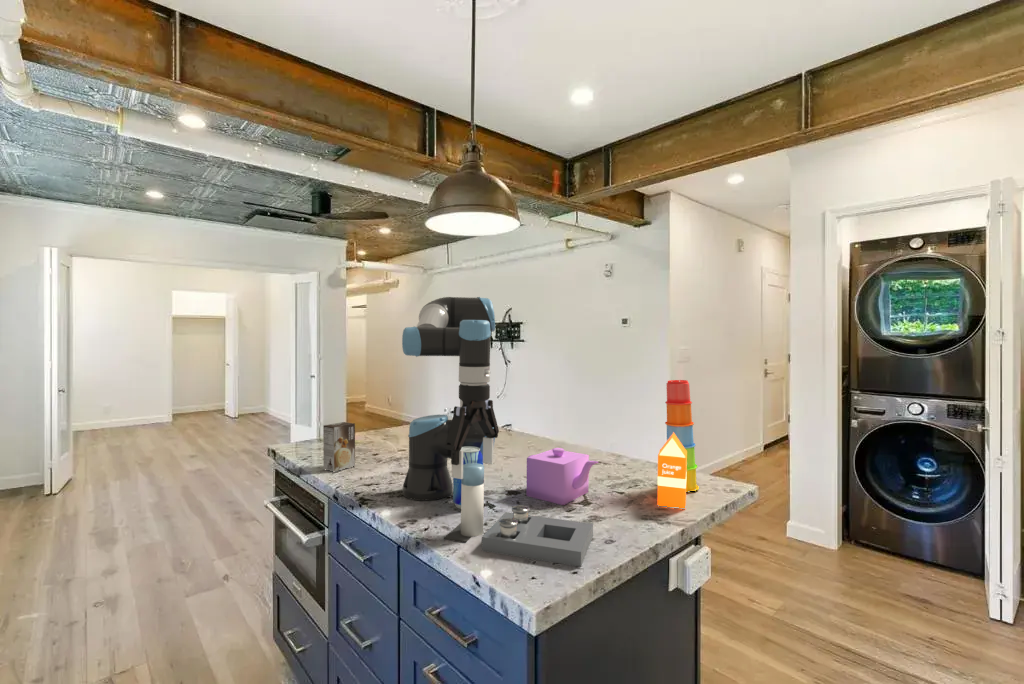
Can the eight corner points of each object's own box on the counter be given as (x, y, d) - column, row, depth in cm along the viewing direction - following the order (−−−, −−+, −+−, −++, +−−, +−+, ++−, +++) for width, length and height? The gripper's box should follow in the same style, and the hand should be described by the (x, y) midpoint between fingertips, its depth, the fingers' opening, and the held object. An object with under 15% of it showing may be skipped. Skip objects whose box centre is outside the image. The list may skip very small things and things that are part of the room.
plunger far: (509, 528, 113) (509, 510, 113) (514, 522, 117) (515, 504, 117) (526, 531, 111) (526, 512, 111) (531, 524, 115) (531, 506, 115)
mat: (443, 539, 111) (443, 537, 111) (461, 523, 120) (461, 522, 120) (483, 545, 107) (483, 543, 107) (498, 529, 117) (498, 527, 117)
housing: (481, 552, 104) (481, 536, 104) (505, 525, 119) (505, 512, 119) (580, 569, 97) (581, 552, 97) (592, 538, 112) (593, 523, 112)
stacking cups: (691, 495, 144) (692, 382, 144) (659, 488, 151) (660, 380, 151) (704, 488, 152) (705, 380, 152) (673, 481, 159) (674, 378, 159)
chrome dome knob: (496, 543, 104) (496, 523, 104) (502, 536, 108) (502, 517, 108) (514, 546, 103) (514, 526, 103) (520, 539, 107) (520, 519, 107)
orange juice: (656, 506, 134) (657, 436, 134) (659, 496, 143) (659, 430, 143) (686, 510, 132) (686, 438, 132) (686, 500, 140) (687, 432, 140)
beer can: (485, 509, 131) (486, 451, 131) (455, 511, 128) (456, 453, 128) (479, 499, 139) (479, 444, 139) (450, 501, 137) (451, 446, 136)
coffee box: (344, 464, 176) (344, 421, 176) (355, 467, 172) (355, 423, 172) (322, 470, 168) (323, 425, 168) (333, 472, 165) (334, 427, 165)
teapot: (585, 511, 130) (586, 460, 130) (513, 493, 145) (513, 447, 145) (609, 497, 142) (610, 450, 142) (540, 481, 157) (540, 439, 157)
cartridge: (469, 538, 110) (470, 470, 110) (456, 531, 114) (457, 465, 114) (487, 533, 114) (488, 466, 114) (474, 526, 118) (475, 462, 118)
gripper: (457, 390, 102) (456, 487, 102) (512, 379, 123) (511, 459, 124) (429, 387, 105) (428, 482, 106) (488, 377, 127) (487, 455, 128)
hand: (473, 470), depth 115 cm, fingers open, 13 cm apart
